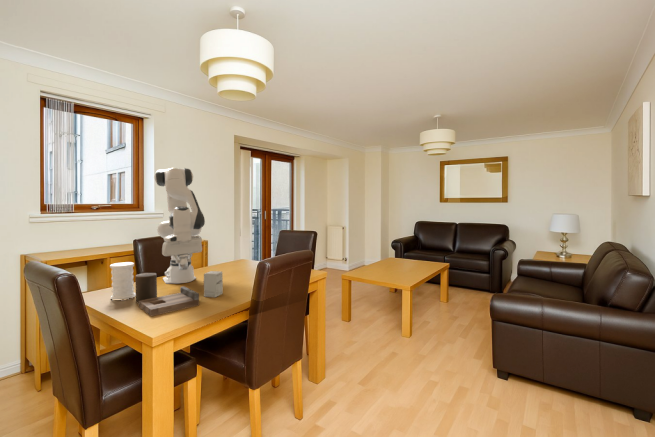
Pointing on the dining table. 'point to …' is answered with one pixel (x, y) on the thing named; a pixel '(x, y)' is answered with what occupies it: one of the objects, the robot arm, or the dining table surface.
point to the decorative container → (122, 280)
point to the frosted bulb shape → (183, 261)
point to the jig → (170, 302)
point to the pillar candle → (146, 286)
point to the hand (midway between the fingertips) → (183, 262)
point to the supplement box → (213, 284)
